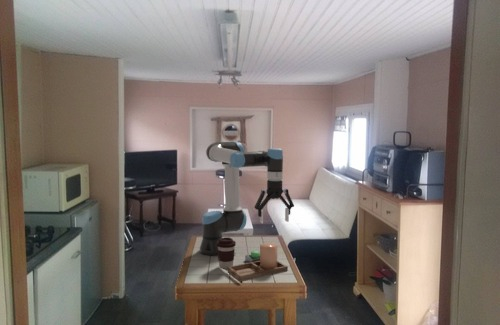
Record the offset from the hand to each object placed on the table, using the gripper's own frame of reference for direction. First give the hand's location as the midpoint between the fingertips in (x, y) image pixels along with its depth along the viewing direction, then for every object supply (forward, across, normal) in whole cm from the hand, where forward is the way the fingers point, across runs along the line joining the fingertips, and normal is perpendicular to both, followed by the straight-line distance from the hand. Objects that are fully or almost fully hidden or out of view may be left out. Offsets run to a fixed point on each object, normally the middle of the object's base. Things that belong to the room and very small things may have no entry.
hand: (274, 222), depth 192 cm
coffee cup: (+27, -21, +16) cm, 37 cm away
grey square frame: (+27, -4, +16) cm, 31 cm away
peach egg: (+25, -1, +4) cm, 26 cm away
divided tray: (+26, -7, +3) cm, 28 cm away
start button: (+23, -4, +16) cm, 29 cm away
